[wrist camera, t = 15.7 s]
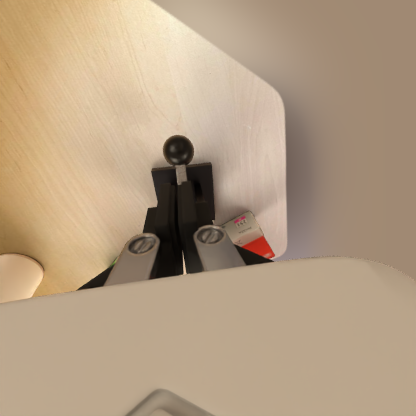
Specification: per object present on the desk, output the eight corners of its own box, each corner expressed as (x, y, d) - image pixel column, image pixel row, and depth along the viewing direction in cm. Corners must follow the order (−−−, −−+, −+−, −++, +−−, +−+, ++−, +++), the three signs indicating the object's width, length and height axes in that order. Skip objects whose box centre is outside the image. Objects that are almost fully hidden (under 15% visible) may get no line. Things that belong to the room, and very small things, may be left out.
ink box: (196, 237, 39) (202, 278, 31) (250, 209, 37) (271, 245, 29) (203, 246, 40) (210, 287, 32) (254, 219, 39) (276, 255, 30)
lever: (163, 141, 26) (158, 132, 22) (191, 138, 26) (192, 129, 22) (176, 245, 26) (174, 252, 23) (204, 241, 27) (206, 248, 23)
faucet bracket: (151, 168, 31) (138, 212, 20) (210, 162, 32) (228, 201, 21) (163, 222, 36) (157, 281, 25) (213, 216, 37) (229, 270, 26)
